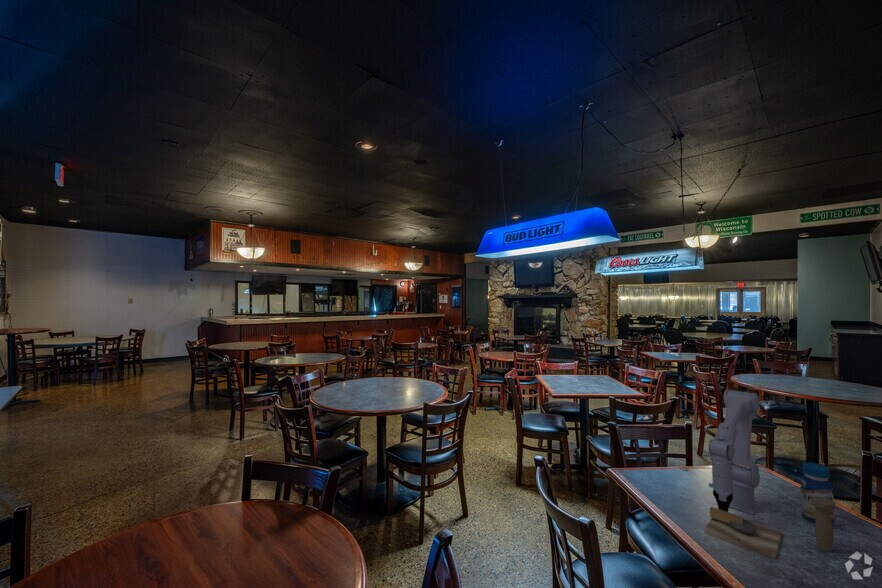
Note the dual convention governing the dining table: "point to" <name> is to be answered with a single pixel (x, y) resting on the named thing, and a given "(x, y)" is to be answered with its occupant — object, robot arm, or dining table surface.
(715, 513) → the lever with round base
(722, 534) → the post board
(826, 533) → the handle
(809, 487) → the beverage bottle
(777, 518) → the dining table surface
